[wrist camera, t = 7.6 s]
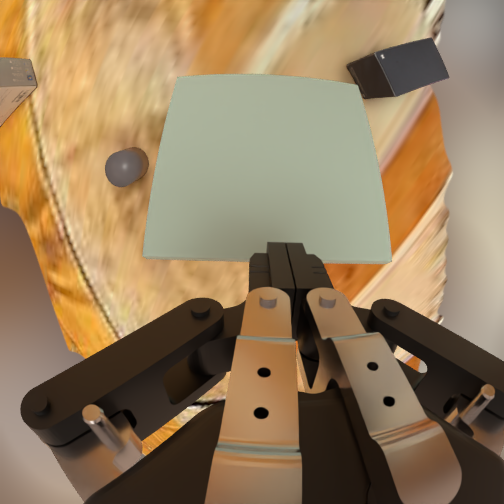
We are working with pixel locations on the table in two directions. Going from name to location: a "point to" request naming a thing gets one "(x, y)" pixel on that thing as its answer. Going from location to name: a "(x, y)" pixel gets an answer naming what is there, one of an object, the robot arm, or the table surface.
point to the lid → (266, 172)
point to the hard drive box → (14, 84)
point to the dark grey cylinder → (126, 166)
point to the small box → (398, 69)
